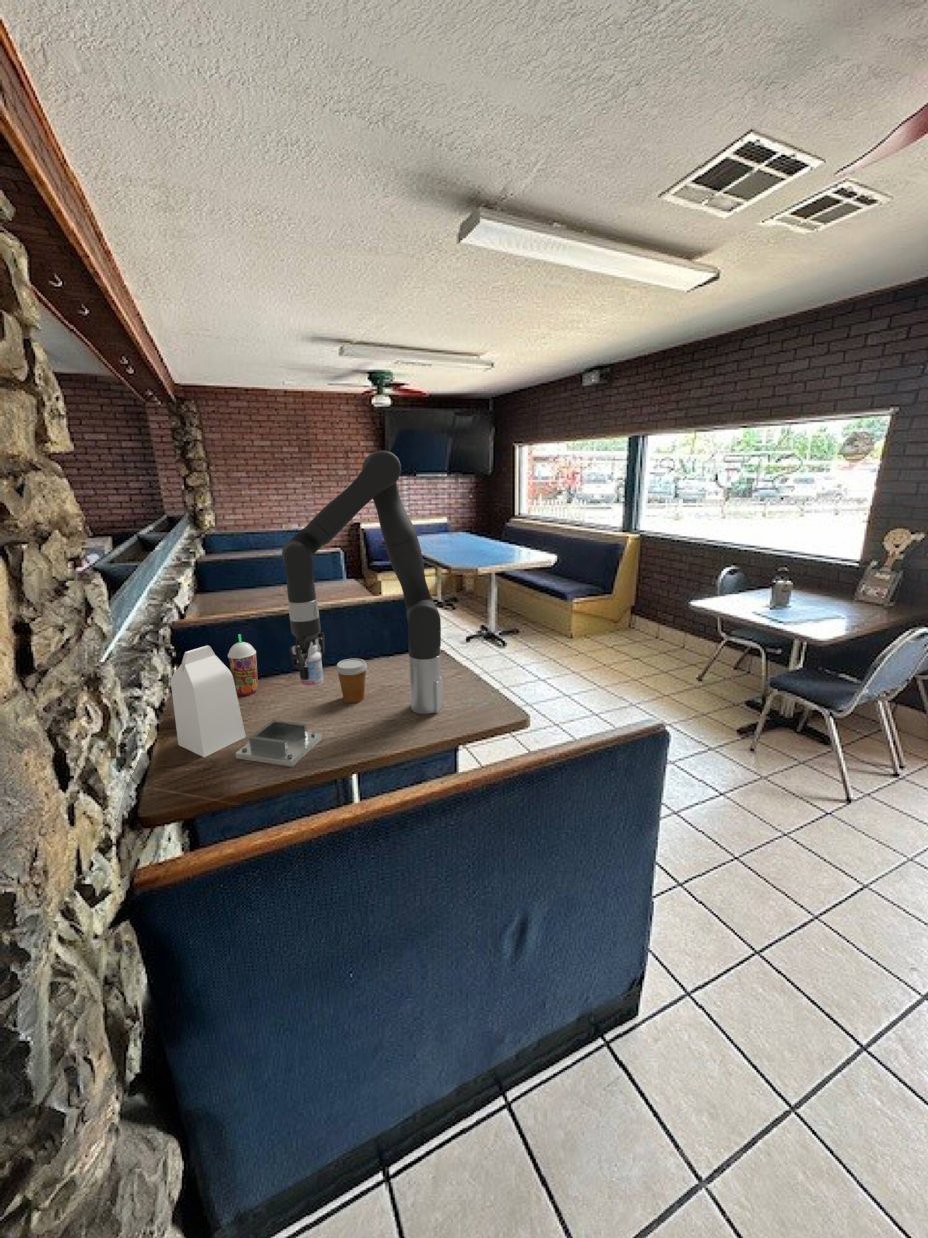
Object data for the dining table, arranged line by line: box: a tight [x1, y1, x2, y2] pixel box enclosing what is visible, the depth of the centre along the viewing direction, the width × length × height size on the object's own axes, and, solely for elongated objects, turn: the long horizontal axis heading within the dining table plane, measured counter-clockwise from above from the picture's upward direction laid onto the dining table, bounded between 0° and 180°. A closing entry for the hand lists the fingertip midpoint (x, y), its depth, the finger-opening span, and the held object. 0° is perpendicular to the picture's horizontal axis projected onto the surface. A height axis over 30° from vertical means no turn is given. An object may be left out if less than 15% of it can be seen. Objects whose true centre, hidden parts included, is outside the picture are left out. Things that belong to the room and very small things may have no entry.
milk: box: [170, 645, 246, 758], centre depth 132 cm, size 12×12×26 cm
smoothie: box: [227, 633, 259, 696], centre depth 163 cm, size 8×8×20 cm
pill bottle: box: [299, 645, 324, 688], centre depth 139 cm, size 6×6×11 cm
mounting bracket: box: [235, 719, 323, 768], centre depth 131 cm, size 16×14×5 cm
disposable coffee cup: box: [335, 658, 368, 704], centre depth 159 cm, size 10×10×12 cm
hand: (311, 674), depth 140 cm, fingers closed on pill bottle, 6 cm apart
